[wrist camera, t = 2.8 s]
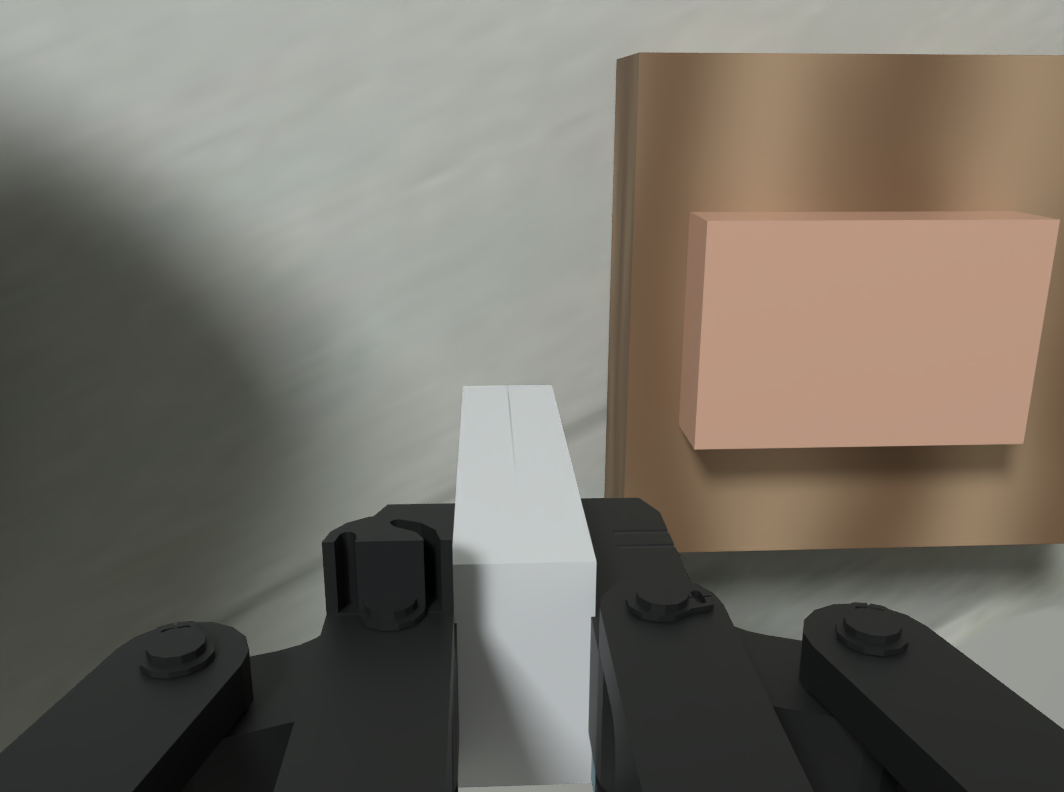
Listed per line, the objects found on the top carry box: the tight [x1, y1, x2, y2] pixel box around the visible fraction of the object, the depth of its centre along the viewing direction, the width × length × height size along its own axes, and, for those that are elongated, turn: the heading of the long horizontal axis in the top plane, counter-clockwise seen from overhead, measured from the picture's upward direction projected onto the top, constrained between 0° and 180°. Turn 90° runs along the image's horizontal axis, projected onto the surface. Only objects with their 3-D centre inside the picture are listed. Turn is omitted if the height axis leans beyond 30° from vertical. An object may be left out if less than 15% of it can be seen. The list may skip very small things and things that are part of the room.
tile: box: [679, 211, 1060, 450], centre depth 26 cm, size 9×6×2 cm, turn 90°
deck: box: [605, 53, 1064, 552], centre depth 28 cm, size 14×14×4 cm
